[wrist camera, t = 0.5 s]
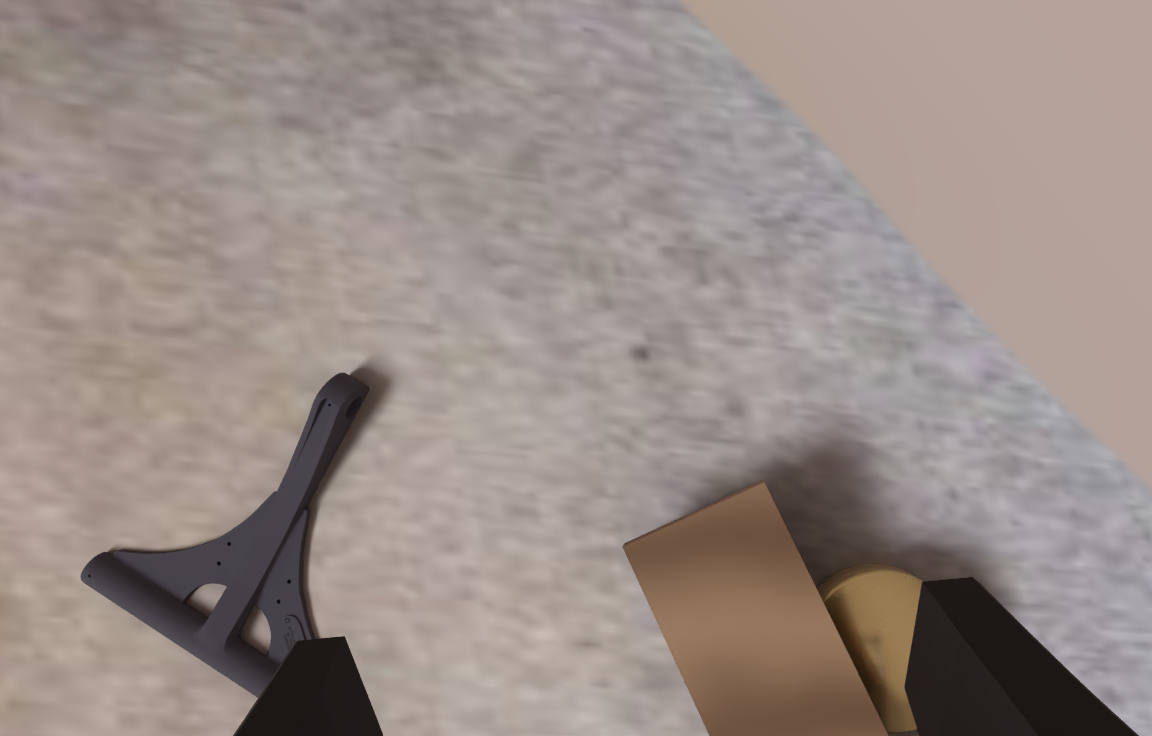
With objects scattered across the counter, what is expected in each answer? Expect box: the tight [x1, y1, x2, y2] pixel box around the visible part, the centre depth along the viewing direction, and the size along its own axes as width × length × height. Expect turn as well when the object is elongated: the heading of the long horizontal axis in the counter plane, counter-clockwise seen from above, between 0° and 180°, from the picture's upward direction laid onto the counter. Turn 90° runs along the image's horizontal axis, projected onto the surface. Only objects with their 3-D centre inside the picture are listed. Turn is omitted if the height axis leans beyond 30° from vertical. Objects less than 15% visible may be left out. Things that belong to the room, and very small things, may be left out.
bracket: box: [81, 373, 369, 698], centre depth 37 cm, size 14×15×3 cm
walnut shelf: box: [623, 481, 888, 736], centre depth 32 cm, size 18×6×4 cm, turn 25°
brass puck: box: [817, 564, 923, 732], centre depth 33 cm, size 6×6×2 cm
